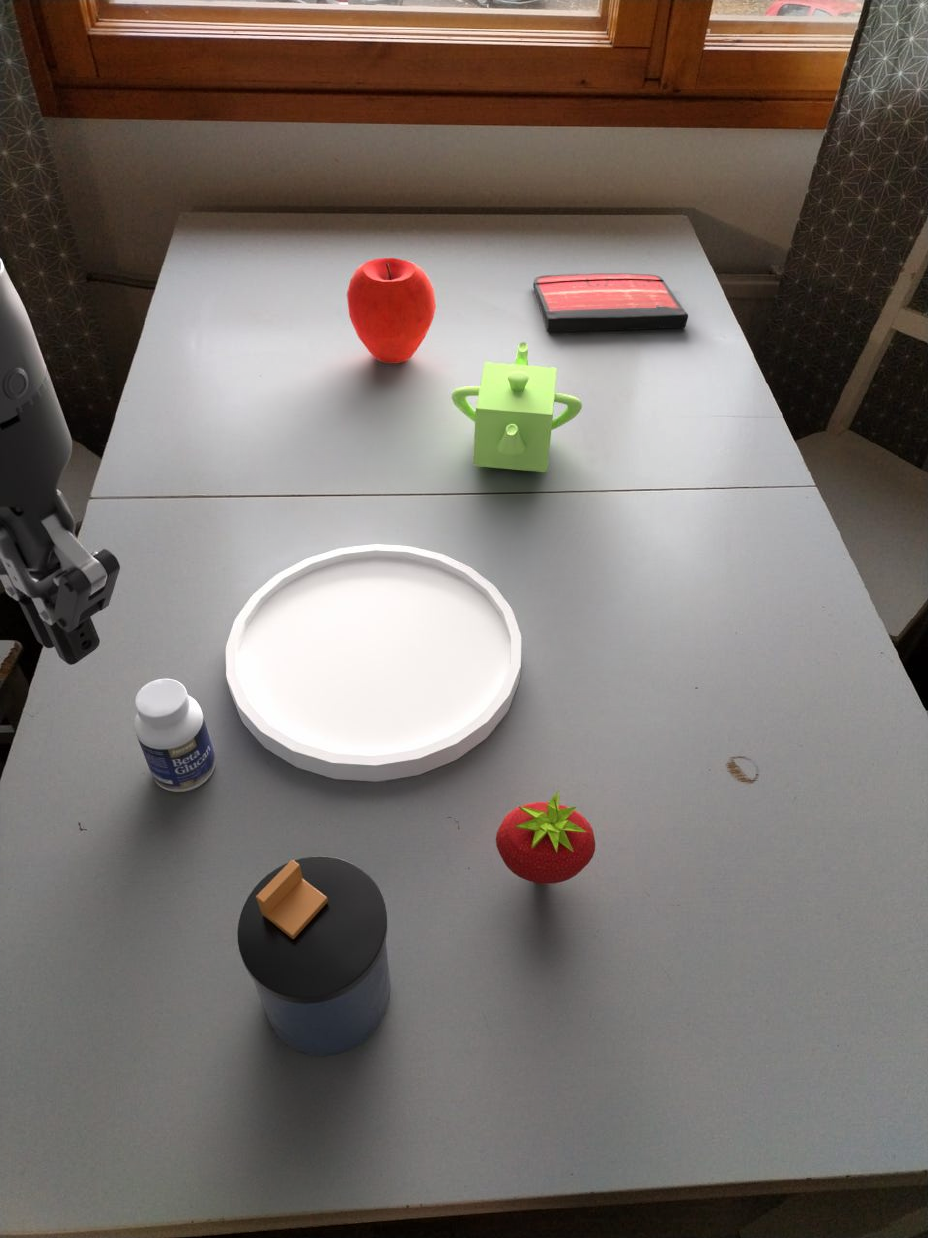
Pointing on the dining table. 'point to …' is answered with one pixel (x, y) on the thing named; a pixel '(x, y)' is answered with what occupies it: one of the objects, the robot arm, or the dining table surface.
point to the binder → (607, 302)
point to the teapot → (515, 413)
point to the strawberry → (545, 841)
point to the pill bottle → (173, 736)
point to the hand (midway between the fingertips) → (70, 644)
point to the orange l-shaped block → (290, 900)
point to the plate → (374, 662)
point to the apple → (391, 307)
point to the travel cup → (322, 960)
